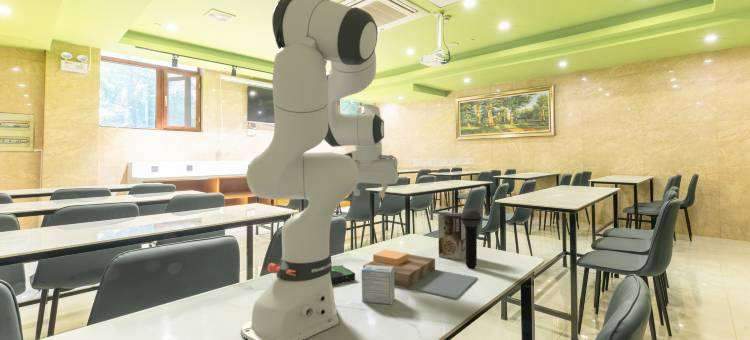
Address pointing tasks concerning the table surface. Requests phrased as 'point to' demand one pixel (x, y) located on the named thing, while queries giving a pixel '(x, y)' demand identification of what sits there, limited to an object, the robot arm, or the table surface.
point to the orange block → (390, 257)
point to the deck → (409, 270)
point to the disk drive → (341, 275)
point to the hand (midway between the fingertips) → (369, 196)
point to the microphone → (471, 235)
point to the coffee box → (451, 236)
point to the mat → (444, 284)
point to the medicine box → (378, 284)
